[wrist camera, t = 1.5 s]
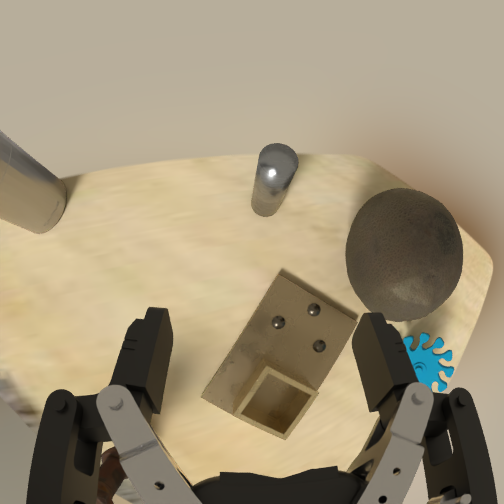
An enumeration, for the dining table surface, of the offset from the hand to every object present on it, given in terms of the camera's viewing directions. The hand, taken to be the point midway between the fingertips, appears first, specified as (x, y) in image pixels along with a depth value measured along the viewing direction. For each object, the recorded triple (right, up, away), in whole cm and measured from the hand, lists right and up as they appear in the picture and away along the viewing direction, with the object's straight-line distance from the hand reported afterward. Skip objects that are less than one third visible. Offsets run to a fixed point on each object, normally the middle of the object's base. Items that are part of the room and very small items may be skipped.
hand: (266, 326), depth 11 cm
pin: (+1, +9, +25) cm, 27 cm away
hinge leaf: (+3, -10, +22) cm, 25 cm away
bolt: (-18, -24, +19) cm, 35 cm away
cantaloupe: (+16, +1, +25) cm, 29 cm away
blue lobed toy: (+21, -14, +23) cm, 34 cm away
